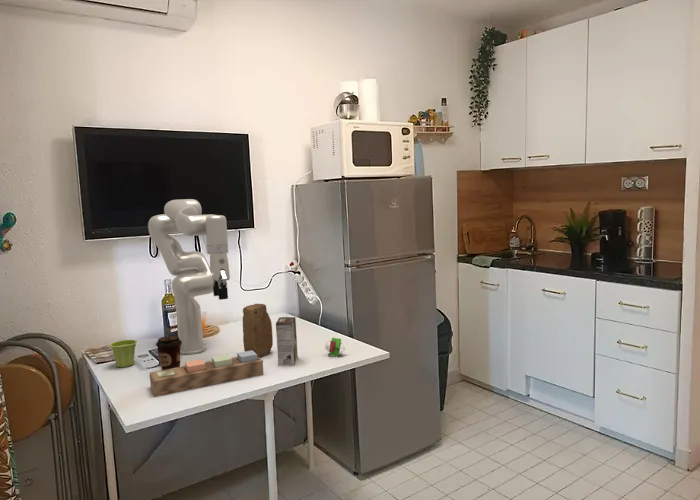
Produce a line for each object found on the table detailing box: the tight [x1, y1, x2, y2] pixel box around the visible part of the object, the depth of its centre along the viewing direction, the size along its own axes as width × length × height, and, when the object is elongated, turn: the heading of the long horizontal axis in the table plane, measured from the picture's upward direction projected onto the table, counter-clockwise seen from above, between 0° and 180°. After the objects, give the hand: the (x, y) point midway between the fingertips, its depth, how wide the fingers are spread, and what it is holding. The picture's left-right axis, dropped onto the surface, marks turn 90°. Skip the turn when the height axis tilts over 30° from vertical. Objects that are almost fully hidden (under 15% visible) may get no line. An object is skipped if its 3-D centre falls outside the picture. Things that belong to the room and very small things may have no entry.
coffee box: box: [275, 316, 299, 367], centre depth 196 cm, size 9×6×16 cm
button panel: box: [149, 356, 264, 397], centre depth 180 cm, size 36×10×5 cm, turn 118°
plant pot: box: [109, 339, 138, 368], centre depth 200 cm, size 9×9×9 cm
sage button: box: [211, 354, 232, 368], centre depth 182 cm, size 6×6×4 cm
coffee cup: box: [155, 335, 182, 370], centre depth 188 cm, size 9×8×13 cm
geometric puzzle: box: [324, 337, 346, 357], centre depth 202 cm, size 7×7×8 cm
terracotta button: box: [184, 359, 206, 373], centre depth 177 cm, size 6×6×4 cm
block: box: [242, 303, 274, 358], centre depth 206 cm, size 11×8×20 cm
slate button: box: [236, 350, 257, 363], centre depth 186 cm, size 6×6×4 cm
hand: (220, 297), depth 193 cm, fingers open, 7 cm apart
